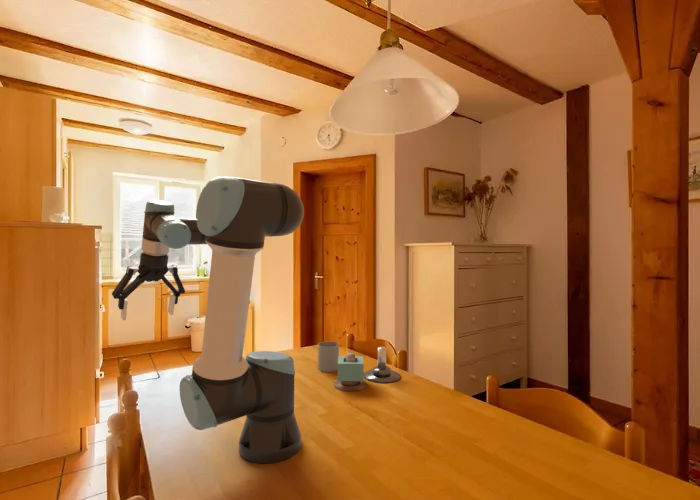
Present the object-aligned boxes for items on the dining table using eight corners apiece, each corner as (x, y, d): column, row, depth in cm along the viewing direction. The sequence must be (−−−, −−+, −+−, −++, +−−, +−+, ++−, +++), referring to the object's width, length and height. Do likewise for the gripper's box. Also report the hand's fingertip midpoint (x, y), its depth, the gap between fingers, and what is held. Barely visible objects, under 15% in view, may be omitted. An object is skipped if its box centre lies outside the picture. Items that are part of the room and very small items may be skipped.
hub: (402, 383, 139) (402, 352, 139) (364, 382, 139) (364, 352, 139) (397, 370, 153) (397, 343, 153) (362, 370, 153) (362, 342, 153)
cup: (316, 366, 158) (316, 342, 157) (335, 364, 160) (335, 340, 160) (320, 372, 150) (320, 347, 149) (340, 370, 152) (340, 345, 152)
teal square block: (363, 381, 132) (363, 363, 132) (337, 380, 132) (337, 363, 132) (362, 372, 141) (362, 356, 141) (338, 372, 141) (338, 356, 141)
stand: (367, 391, 131) (368, 359, 131) (333, 391, 131) (333, 359, 131) (366, 379, 143) (366, 349, 143) (334, 378, 143) (334, 349, 143)
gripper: (192, 247, 126) (184, 306, 131) (103, 247, 108) (98, 314, 113) (201, 255, 121) (192, 316, 126) (109, 256, 103) (104, 326, 108)
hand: (147, 315), depth 120 cm, fingers open, 13 cm apart
